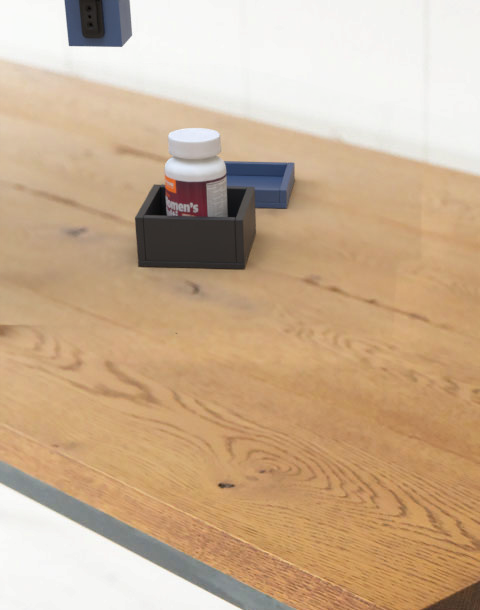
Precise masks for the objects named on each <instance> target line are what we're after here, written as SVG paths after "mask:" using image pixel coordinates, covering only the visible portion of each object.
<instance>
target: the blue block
mask: <svg viewBox="0 0 480 610" xmlns="http://www.w3.org/2000/svg"><path fill="white" fill-rule="evenodd" d="M63 1H64V12H65V20H66V21H65V23H66V33H67V41H68V47H90V48H91V47H96V48H97V47H98V48H99V47H101V48H123V46H125V44H126V43H127V42H128V41H129V40H130V39H131V37H132V36H133V27H132V15H131V13H132V12H131V1H130V0H102V3H103V15H104V27H105V35H104V36H103V37H102V38H99V39H98V38H85V37H83V35H82V28H81V17H80V6H79V0H63Z"/></svg>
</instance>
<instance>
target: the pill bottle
mask: <svg viewBox="0 0 480 610" xmlns="http://www.w3.org/2000/svg"><path fill="white" fill-rule="evenodd" d="M167 143H168V148H167V149H168V154H169V155H170V156H172V157H169V159H168V160H167V161H166V162H165V164H164V185H165V190H166V210H167V216H201V217H228V210H227V180H226V165H225V163H224V161H225V160H223V159H222V158H221V157H220V156H218V155H220V154H221V153H222V144H221V143H222V141H221V134H220V132H219V131H217V130H215V129H211V128H204V127H189V128H188V127H187V128H181V129H180V128H179V129H176V130H173V131H171V132H169V133H168V135H167Z"/></svg>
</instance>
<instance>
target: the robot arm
mask: <svg viewBox="0 0 480 610" xmlns="http://www.w3.org/2000/svg"><path fill="white" fill-rule="evenodd" d="M79 6H80V17H81V28H82V35H83V37H85V38H98V39H99V38H102V37H103V36H104V35H105V27H104V15H103V3H102V0H79Z"/></svg>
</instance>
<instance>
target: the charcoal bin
mask: <svg viewBox="0 0 480 610" xmlns="http://www.w3.org/2000/svg"><path fill="white" fill-rule="evenodd" d="M144 199H145V200H144V201H143V203H142V204H141V206H140V208H139V210H138V211H137V213H136V215H135V216H134V224H135V225H134V226H135V237H136V252H137V265H138V267H141V268H143V267H146V268H147V267H148V268H180V269H181V268H185V269H189V268H190V269H223V270H225V269H227V270H245V269H246V266H247V263H248V260H249V256H250V253H251V250H252V247H253V243H254V241H255V238H256V236H257V235H256V234H257V216H256V215H257V214H256V213H257V212H256V208H255V187H242V186H227V210H228V217H201V216H167V210H166V190H165V184H153V185H152V187H151V188H150V190H149V192H148V194H147V196H146V198H144Z"/></svg>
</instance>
